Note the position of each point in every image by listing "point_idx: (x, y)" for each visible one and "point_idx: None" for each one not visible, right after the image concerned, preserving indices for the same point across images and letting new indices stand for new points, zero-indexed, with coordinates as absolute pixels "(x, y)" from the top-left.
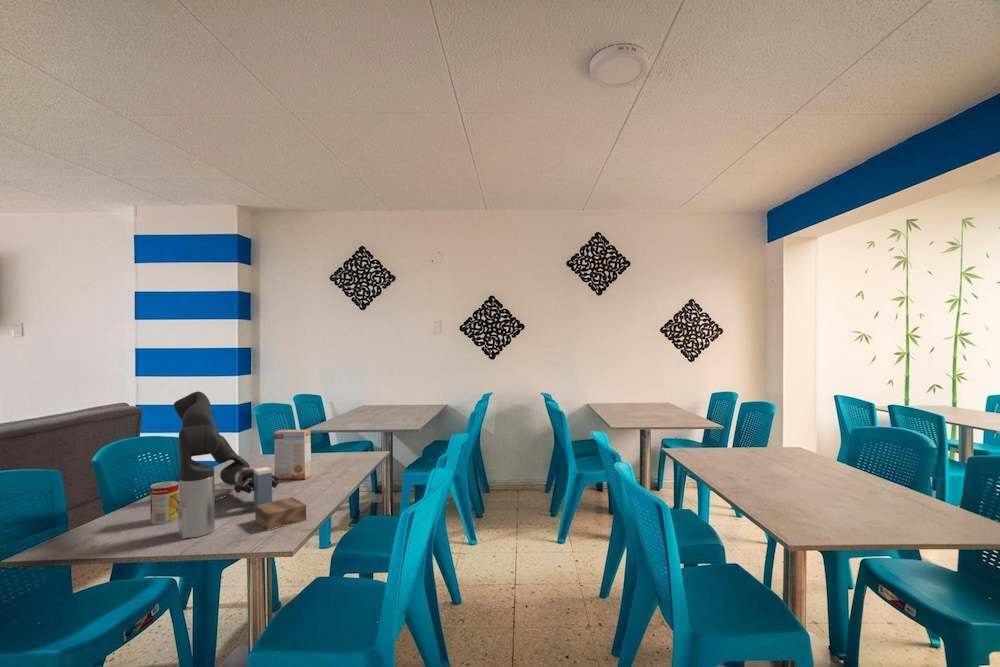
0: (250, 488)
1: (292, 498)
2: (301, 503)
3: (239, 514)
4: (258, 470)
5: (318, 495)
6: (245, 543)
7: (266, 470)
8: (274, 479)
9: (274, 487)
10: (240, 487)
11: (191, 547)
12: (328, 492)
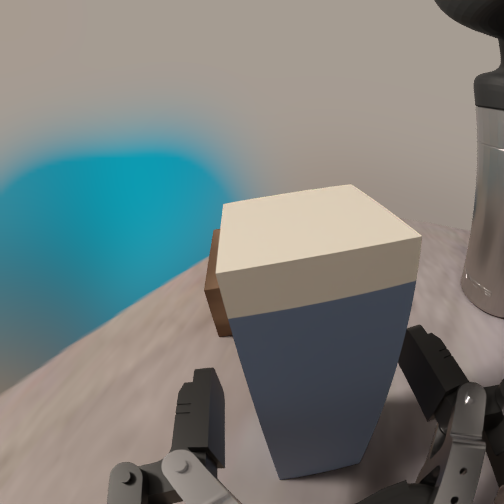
0: (406, 331)
1: (211, 277)
2: (216, 238)
3: None
4: (350, 200)
5: (51, 432)
6: None
7: (275, 198)
8: (156, 482)
9: (222, 392)
10: (489, 387)
11: (461, 237)
12: (19, 429)
